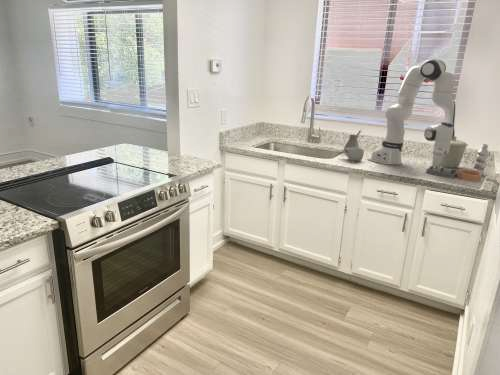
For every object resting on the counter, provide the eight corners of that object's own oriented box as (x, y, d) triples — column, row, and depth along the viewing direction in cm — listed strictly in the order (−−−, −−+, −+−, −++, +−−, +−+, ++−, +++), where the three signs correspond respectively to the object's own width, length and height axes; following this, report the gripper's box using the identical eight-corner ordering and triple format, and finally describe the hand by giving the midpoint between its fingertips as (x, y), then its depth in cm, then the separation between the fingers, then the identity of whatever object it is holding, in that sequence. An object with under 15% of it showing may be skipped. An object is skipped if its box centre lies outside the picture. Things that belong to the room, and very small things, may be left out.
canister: (463, 166, 258) (470, 136, 251) (460, 172, 244) (468, 139, 237) (435, 161, 268) (441, 132, 261) (430, 166, 253) (436, 135, 246)
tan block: (431, 172, 237) (432, 167, 236) (433, 170, 240) (434, 166, 239) (439, 173, 234) (440, 168, 233) (440, 172, 238) (441, 167, 237)
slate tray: (425, 174, 235) (426, 169, 234) (430, 169, 245) (431, 165, 244) (453, 179, 226) (454, 174, 225) (456, 174, 237) (457, 170, 236)
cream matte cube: (442, 174, 234) (443, 169, 233) (443, 172, 237) (444, 167, 236) (450, 175, 231) (451, 170, 230) (451, 174, 234) (452, 169, 233)
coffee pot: (356, 155, 275) (359, 134, 270) (341, 152, 280) (343, 132, 276) (365, 150, 291) (368, 131, 287) (351, 148, 297) (353, 129, 293)
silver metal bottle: (470, 176, 235) (478, 144, 229) (471, 174, 240) (479, 143, 234) (482, 178, 232) (490, 146, 225) (483, 176, 237) (491, 144, 231)
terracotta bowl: (455, 179, 226) (457, 172, 225) (458, 175, 236) (460, 168, 234) (478, 184, 220) (480, 176, 218) (480, 179, 229) (482, 172, 228)
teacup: (365, 160, 260) (367, 149, 258) (358, 163, 253) (359, 151, 250) (347, 156, 269) (348, 145, 267) (339, 159, 261) (341, 147, 259)
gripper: (438, 146, 242) (434, 166, 247) (432, 151, 226) (428, 173, 231) (449, 147, 239) (445, 168, 243) (444, 153, 223) (439, 175, 227)
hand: (436, 171), depth 237 cm, fingers closed on tan block, 4 cm apart
